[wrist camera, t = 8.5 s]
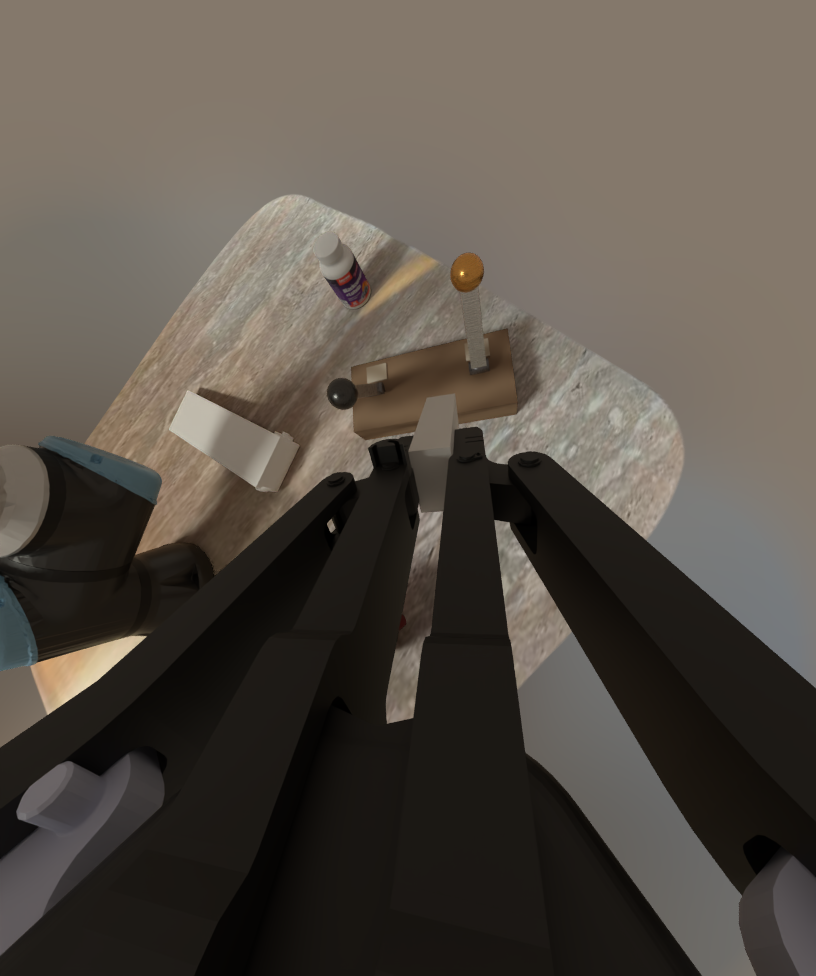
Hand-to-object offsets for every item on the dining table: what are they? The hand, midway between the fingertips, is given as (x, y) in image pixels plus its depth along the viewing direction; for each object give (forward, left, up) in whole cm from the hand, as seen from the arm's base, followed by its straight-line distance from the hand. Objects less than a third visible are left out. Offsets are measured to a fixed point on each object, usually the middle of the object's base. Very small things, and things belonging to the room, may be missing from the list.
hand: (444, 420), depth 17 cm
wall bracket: (-43, -9, -26) cm, 51 cm away
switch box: (-12, +10, -26) cm, 30 cm away
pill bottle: (-31, +22, -26) cm, 46 cm away
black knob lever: (-18, +6, -21) cm, 28 cm away
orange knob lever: (-5, +13, -21) cm, 25 cm away
